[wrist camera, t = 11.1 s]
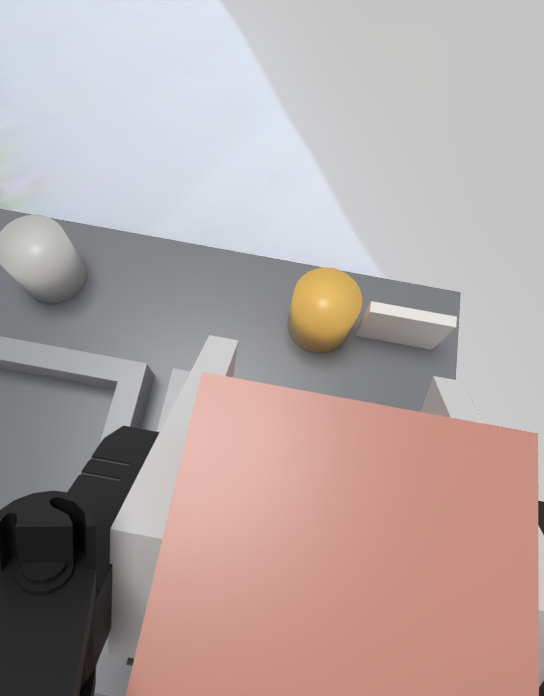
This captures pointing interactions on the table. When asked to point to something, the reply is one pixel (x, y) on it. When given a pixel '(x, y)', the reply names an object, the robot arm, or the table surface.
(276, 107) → the table surface
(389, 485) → the salmon pink square prism
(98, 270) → the grey compartment tray
